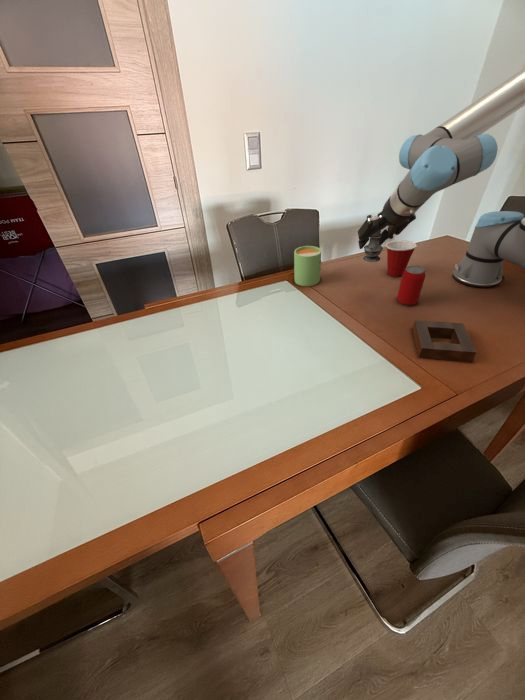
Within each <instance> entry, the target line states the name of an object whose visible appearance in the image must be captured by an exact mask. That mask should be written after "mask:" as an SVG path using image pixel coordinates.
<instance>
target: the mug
mask: <svg viewBox="0 0 525 700" xmlns="http://www.w3.org/2000/svg"><path fill="white" fill-rule="evenodd" d="M322 261H323V260H322V249H321V248H320V247H318V246H314V245H303V246H299V247H296V248H295V249H294V252H293V263H294V265H293V269H294V270H293V274H294V275H293V276H294V283H295V284H296V285H297V286H302V287H313V286H316V285H317V284H319V283H320V282H321V270H322V268H321V266H322Z"/></svg>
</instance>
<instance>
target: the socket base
mask: <svg viewBox="0 0 525 700" xmlns="http://www.w3.org/2000/svg"><path fill="white" fill-rule="evenodd" d="M411 331H412V336H413V341H414V345H415V348H416V352H417V357H418V358H419V359H431V360H443V361H444V360H445V361H453V362H463V363H464V362H465V363H473V360H474V358H475V356H476V354H477V349H476V348H475V347H474V344H473V341H472V339H471V337H470V335H469V332H468V330H467V328H466V326H465V324H464V322H450V321H449V322H448V321H447V322H446V321H434V320H433V321H432V320H431V321H429V320H416V319H415V320H414V321H413V324H412V328H411ZM431 337H432V338H443V339H450V341H451V343H449V342H436V341H433V340H432V338H431Z"/></svg>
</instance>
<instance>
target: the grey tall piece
mask: <svg viewBox="0 0 525 700" xmlns="http://www.w3.org/2000/svg"><path fill="white" fill-rule="evenodd" d="M381 233H382V230H379V231H377V232H376V233H375V234H373V235H372V236H371V237H369V241H368V244H365V246H364V247H363V250H364V254H365V255H364V256H363V257H362V259H363V260H364V261H365V262H368V263H377V262H379V261H381V257H380V255H381V253H382V251H383V250H384V247H383V246H382V245H381V246H380V245H379V242H380V237H381V235H380V234H381Z"/></svg>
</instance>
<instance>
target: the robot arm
mask: <svg viewBox="0 0 525 700" xmlns="http://www.w3.org/2000/svg"><path fill="white" fill-rule="evenodd" d="M524 107H525V62H524V64H522V66H521V67H520V69H519V71H517V72H516V73H514V74H513V75H511V76H510V77H509V78H508V79H506V80H504V81H503V82H501V83H500V84H499V85H497V86H495V87H493V89H491V90H489V91H488V92H487V93H485V94H484V95H482V96H481V97H479V98H477V99H476V100H475V101H473V102H472V103H470V104H469V105H467V106H465V107H464V108H463V109H462V110H460V111H458V112H457V113H456V114H454V115H452V116H451V117H449V118H448V119H447V120H445V121H443V123H440V124H439V125H438V126H436V127H435V128H433V129H432V130H430V131H428V132H427V133H426V134H416V135H411V136H409V137H408V138H407V139H405V140H404V142H403V143H402V144H401V147H400V149H399V154H398V161H399V164H400V166H401V167H402V168H404V169H406V170H409V171H408V172H407V173H406V174H405V176H404V178H403V179H402V180H401V181H400V182H399V184H398V185H397V187H396V188H395V189H394V191H393V192H392V193H391V195H390V196H389V197H388V199H387V200H386V201H385V203H384V205H383V207H382V210H381V211H380V212H378V213H377V215H375V216H373V215H372V214H368V215H366V219H365V221H364V222H363V224H362V225H361V226H360V227H359V228H358V230H357V237H358V241H357V242H358V246H359V250H362V249H364V247H365V246H366V245H367V243H369V241H370V237H371V236H372V235H373V234H375V233H376V232H377V231H379V230H381V234H380V235H381V237H380V242H379V245H380V246H382V245H383V244H385V242H386V241H387V240H388V239H389V240H393V239H394V235H395V236H399V235H400V234H401V233H402V232H403V231H404V230H405V229H406V228H407V227H408V226H409V225H410V224H411V223H412V222H414V221H415V220H417V216H416V212H417V211H418V210H419V209H420V208H421V207H423V205H424V204H426V202H428V200H429V199H430V198H431V197H432V196H434V195H435V194H436V193H438V192H440V191H442V190H445V189H447V188H450V187H451V186H454V185H455V184H458V183H461V182H463V181H465V180H467V179H469V178H472V177H475V176H477V175H479V174H480V173H482V172H484V171H486V170H488V169H489V168H490V167H491V166H492V165H493V164H494V162H495V160H496V158H497V156H498V151H499V149H498V143H497V140H496V138H495V137H494V136H493V135H492V134H489V133H485V132H488V130H490V129H491V128H493V127H494V126H496V125H497V124H499V123H500V122H502V121H503V120H505V119H507V118H508V117H510V116H511V115H513V114H514V113H516V112H517V111H519V110H520V109H522V108H524ZM524 216H525V215H524V213H522V212H520V211H513V210H503V211H502V210H500V211H499V210H497V211H496V210H495V211H490V212H486V213H483V214H481V215H480V216H479V218H478V220H477V223H476V225H475V226H474V229H473V233H472V234H471V235H472V236H471V238H470V240H469V243H468V246H467V249H466V252H465V254H464V256H463V258H462V259H461V260H460V261H459V262H458V263H455V265H454V269H453V271H452V274H451V276H452V278H453V280H454V281H456V282H457V283H459V284H461V285H464V286H466V287H472V288H477V289H478V288H479V289H491V288H494V287H496V286H498V285H500V284H501V281H502V280H504V279H505V278H506V276H505V275H503V266H504V261H506V262H508V263H511V264H513V265H516V266H518V267H520V268H522V269H524V270H525V217H524ZM386 227H387V228H386Z"/></svg>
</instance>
